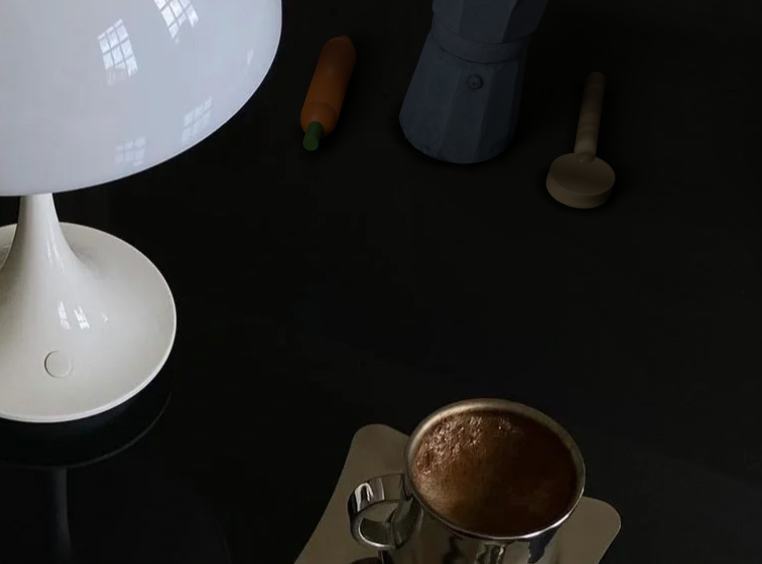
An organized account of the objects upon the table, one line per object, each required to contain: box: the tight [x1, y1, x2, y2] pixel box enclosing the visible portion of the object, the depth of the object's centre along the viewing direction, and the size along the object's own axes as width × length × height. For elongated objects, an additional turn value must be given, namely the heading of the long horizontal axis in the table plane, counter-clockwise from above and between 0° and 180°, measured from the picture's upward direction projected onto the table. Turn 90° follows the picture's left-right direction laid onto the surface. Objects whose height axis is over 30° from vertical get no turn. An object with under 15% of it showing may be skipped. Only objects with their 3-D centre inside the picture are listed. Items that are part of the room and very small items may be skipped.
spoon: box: [545, 71, 616, 209], centre depth 101 cm, size 15×5×2 cm, turn 166°
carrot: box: [299, 34, 357, 152], centre depth 102 cm, size 14×3×3 cm, turn 166°
